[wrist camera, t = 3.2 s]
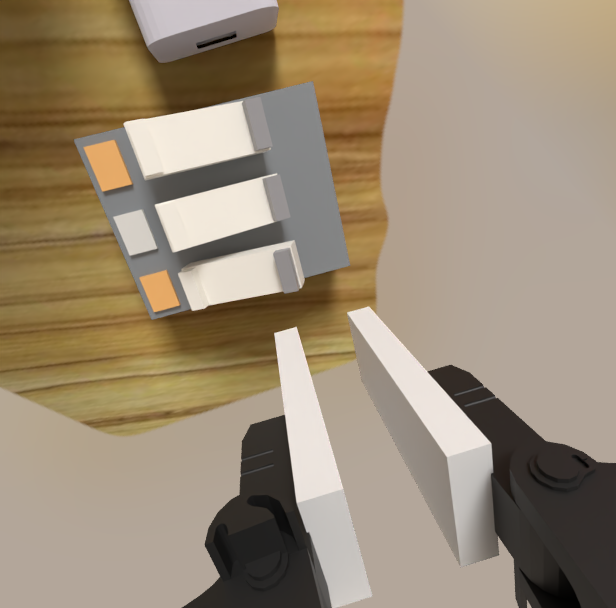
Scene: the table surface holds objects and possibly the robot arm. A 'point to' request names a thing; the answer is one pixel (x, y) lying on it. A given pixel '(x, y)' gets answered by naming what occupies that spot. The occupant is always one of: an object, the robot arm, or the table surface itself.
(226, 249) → the switch unit
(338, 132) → the table surface
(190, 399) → the table surface
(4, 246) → the table surface
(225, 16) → the charger
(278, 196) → the rocker
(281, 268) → the rocker
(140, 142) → the rocker
